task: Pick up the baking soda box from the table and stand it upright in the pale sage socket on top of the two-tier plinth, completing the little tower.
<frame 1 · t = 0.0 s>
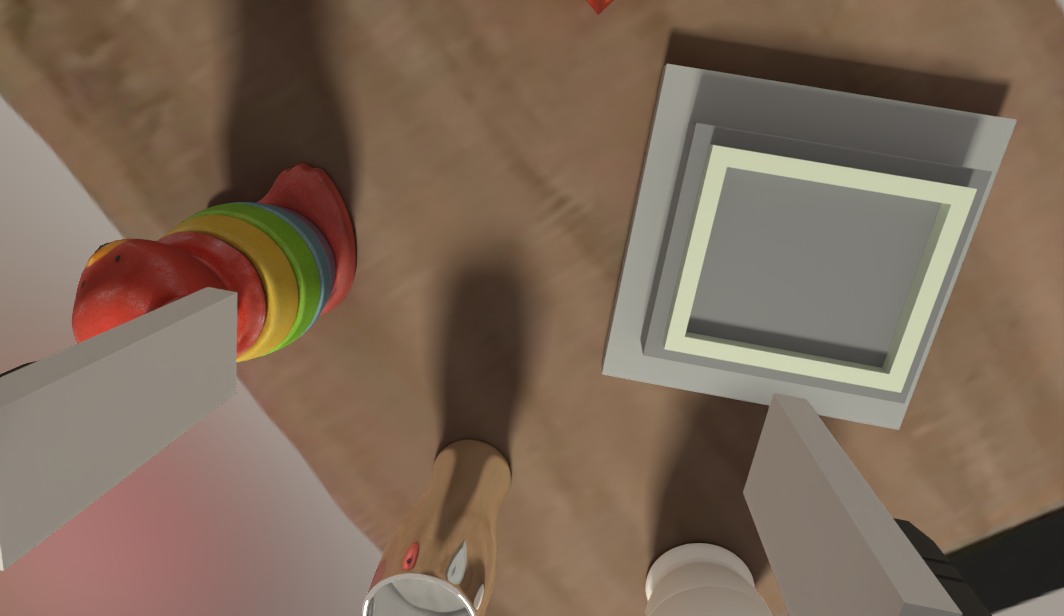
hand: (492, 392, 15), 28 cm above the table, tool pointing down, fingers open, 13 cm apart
plinth: (781, 252, 41), on the table
stacking bear: (294, 251, 45), on the table
beer glass: (472, 472, 49), on the table
jar: (698, 584, 49), on the table
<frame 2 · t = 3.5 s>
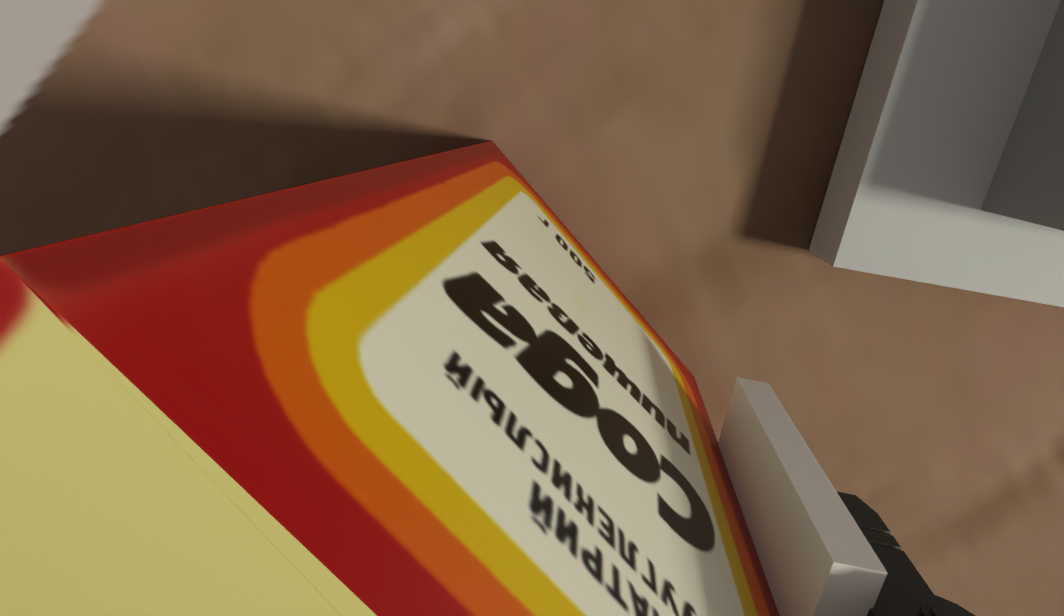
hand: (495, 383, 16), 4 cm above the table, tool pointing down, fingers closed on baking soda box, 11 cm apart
baking soda box: (517, 326, 20), on the table, touching gripper
when the fingers open (11 cm above the table, at t = 11.0 s): baking soda box stays where it is, resting on plinth.
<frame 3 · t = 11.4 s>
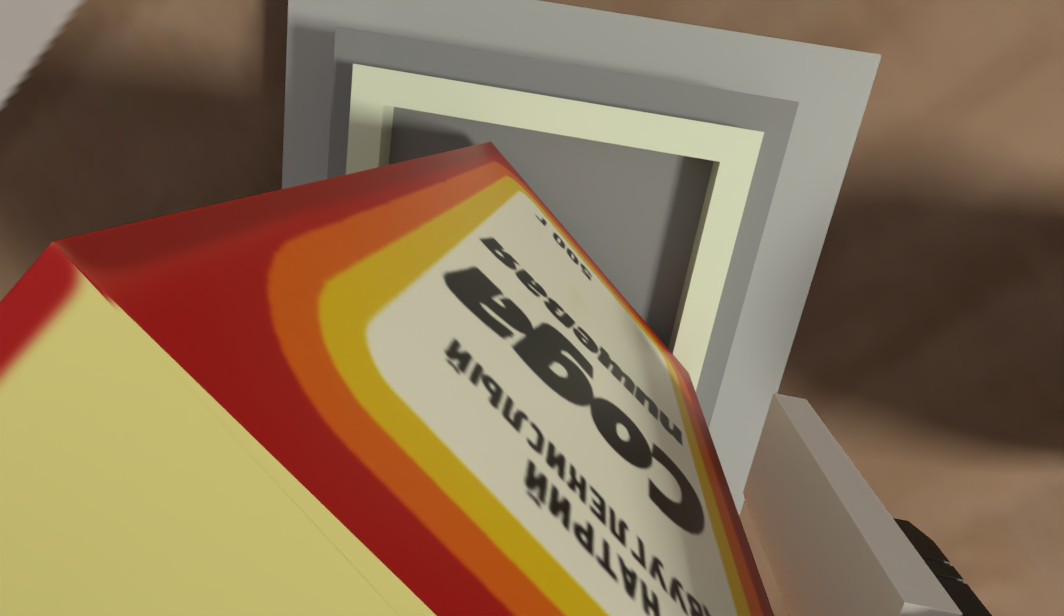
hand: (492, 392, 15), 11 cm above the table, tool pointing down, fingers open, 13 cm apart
plinth: (536, 278, 26), on the table
baking soda box: (516, 323, 20), point 6 cm above the table, touching plinth
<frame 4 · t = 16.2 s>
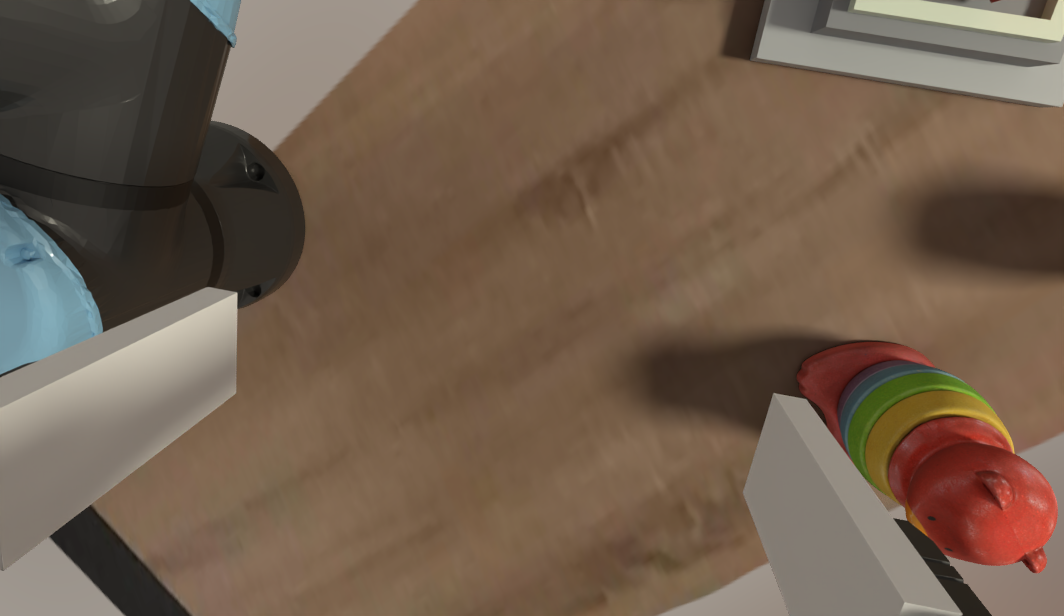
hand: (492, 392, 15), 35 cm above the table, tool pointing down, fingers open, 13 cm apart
stacking bear: (872, 395, 50), on the table
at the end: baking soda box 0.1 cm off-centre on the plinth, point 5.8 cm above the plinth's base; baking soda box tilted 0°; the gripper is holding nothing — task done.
